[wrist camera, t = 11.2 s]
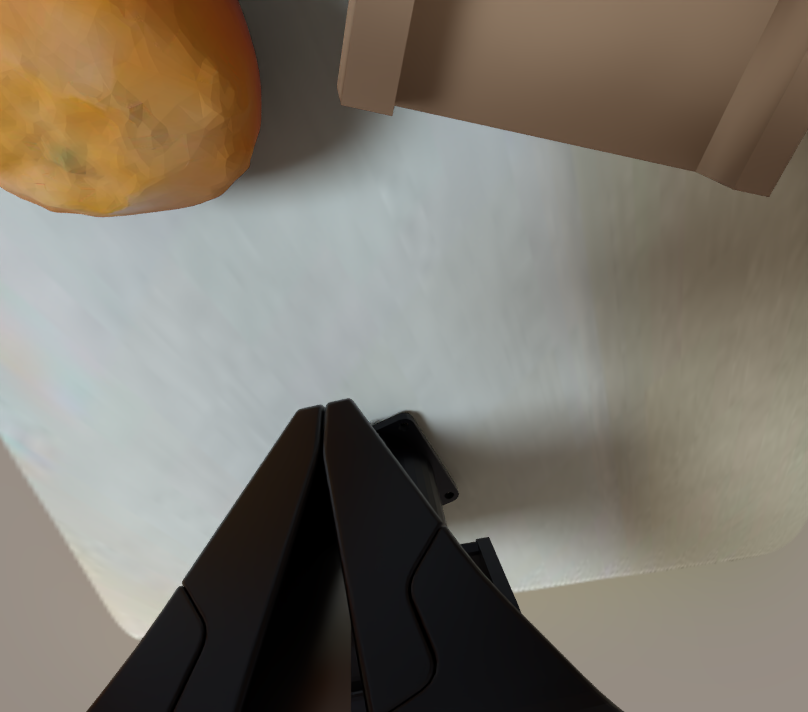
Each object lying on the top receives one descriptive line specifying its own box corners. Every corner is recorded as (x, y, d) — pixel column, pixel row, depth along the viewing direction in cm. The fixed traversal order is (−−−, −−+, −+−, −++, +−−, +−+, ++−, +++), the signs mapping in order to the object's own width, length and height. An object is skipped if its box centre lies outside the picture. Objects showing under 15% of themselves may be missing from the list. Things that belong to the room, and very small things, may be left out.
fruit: (296, -170, 13) (252, 48, 10) (273, 100, 20) (242, 285, 16) (-104, -316, 11) (-341, -107, 8) (22, 40, 18) (-73, 235, 15)
